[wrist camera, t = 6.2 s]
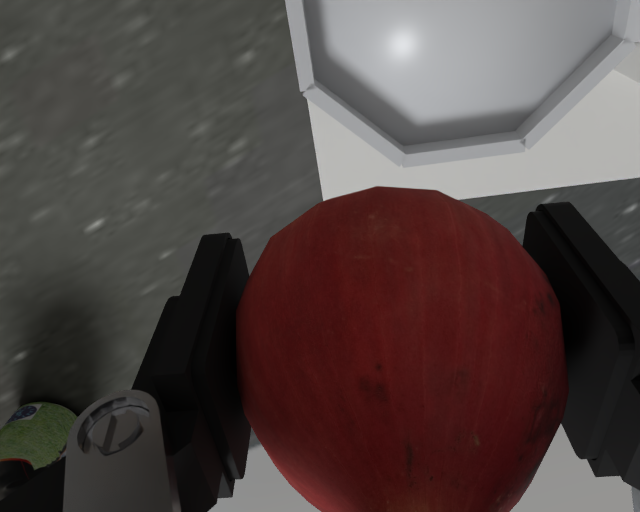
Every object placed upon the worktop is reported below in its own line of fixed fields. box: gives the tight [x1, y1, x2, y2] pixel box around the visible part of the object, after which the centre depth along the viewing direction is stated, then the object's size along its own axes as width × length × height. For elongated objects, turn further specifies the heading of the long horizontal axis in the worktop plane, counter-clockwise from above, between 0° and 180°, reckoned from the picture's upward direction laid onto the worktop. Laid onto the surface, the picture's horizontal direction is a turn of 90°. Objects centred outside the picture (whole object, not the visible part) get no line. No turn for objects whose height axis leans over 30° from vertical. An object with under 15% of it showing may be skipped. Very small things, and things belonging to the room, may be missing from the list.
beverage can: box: [0, 402, 78, 501], centre depth 36 cm, size 6×7×12 cm
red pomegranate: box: [236, 186, 569, 512], centre depth 9 cm, size 6×6×8 cm
